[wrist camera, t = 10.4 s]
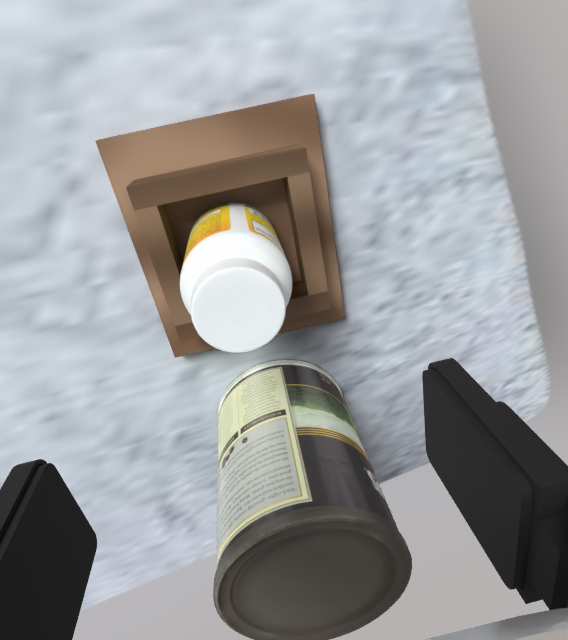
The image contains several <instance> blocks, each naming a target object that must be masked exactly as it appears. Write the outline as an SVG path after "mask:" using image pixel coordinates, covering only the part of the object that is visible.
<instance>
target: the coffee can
mask: <svg viewBox="0 0 568 640" xmlns="http://www.w3.org/2000/svg"><path fill="white" fill-rule="evenodd" d="M217 420H218V503H217V570H216V574H215V579H214V591H213V597H214V604H215V607H216V610H217V612H218V614H219V615H220V617H221V619H222V620H223V621H224V622H225V623H226V624H227V625H228V626H229V627H230V628H232V629H233V630H235V631H236V632H238V633H240V634H242V635H244V636H246V637H249V638H251V639H254V640H329V639H332V638H336V637H339V636H342V635H345V634H348V633H350V632H353V631H355V630H357V629H359V628H361V627H363V626H364V625H366V624H368V623H370V622H371V621H373V620H375V619H376V618H378V617H379V616H380V615H382V614H383V613H384V612H386V611H387V610H388V609H389V608H390V607H391V606H392V605H393V604H394V603H395V602H396V601H397V600H398V599H399V598H400V596H401V595H402V593H403V592H404V591H405V588H406V586H407V584H408V582H409V579H410V575H411V569H412V558H411V554H410V552H409V549H408V547H407V544H406V542H405V540H404V538H403V537H402V535H401V534H400V532H399V531H398V529H397V526H396V523H395V521H394V519H393V516H392V514H391V512H390V509H389V507H388V505H387V503H386V500H385V497H384V495H383V493H382V490H381V488H380V486H379V483H378V481H377V478H376V476H375V473H374V471H373V469H372V467H371V464H370V462H369V460H368V457H367V455H366V452H365V450H364V448H363V445H362V443H361V441H360V438H359V436H358V433H357V431H356V429H355V426H354V424H353V421H352V419H351V416H350V414H349V411H348V409H347V407H346V404H345V402H344V399H343V395H342V392H341V390H340V388H339V386H338V384H337V383H336V381H335V380H334V379H333V378H332V377H331V375H329V374H328V373H327V372H326V371H324V370H323V369H321V368H319V367H317V366H315V365H313V364H310V363H307V362H303V361H298V360H274V361H270V362H266V363H263V364H260V365H257V366H255V367H252V368H251V369H249V370H247V371H245V372H244V373H242V374H241V375H240V376H238V377H237V378H236V379H235V380H234V381H232V383H231V384H230V385H229V386H228V388H227V389H226V391H225V392H224V394H223V396H222V398H221V400H220V403H219V407H218V413H217Z"/></svg>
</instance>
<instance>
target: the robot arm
mask: <svg viewBox="0 0 568 640" xmlns="http://www.w3.org/2000/svg"><path fill="white" fill-rule="evenodd" d="M423 396H424V417H425V438H426V451H427V455H428V458H429V460H430V462H431V464H432V466H433V467H434V469H435V471H436V472H437V474H438V476H439V477H440V479H441V481H442V482H443V484H444V486H445V487H446V489H447V490H448V492H449V494H450V495H451V497H452V499H453V500H454V502H455V503H456V505H457V507H458V508H459V510H460V512H461V513H462V515H463V517H464V518H465V520H466V522H467V523H468V525H469V526H470V528H471V530H472V531H473V533H474V535H475V536H476V538H477V539H478V541H479V543H480V544H481V546H482V547H483V549H484V551H485V553H486V554H487V556H488V557H489V559H490V561H491V562H492V564H493V566H494V567H495V569H496V571H497V572H498V574H499V575H500V577H501V579H502V580H503V582H504V583H505V585H506V586H507V587H508V588H509V589H515V588H516V589H517V591H518V592H519V594H520V595H521V597H522V598H523V600H524V602H525V603H526V604H528V603H531V602H535V601H539V600H542V599H543V601H544V602H545V603H546V605H547V607H548V608H549V611H544V612H539V613H533V614H528V615H523V616H517V617H514V618H510V619H506V620H502V621H498V622H493V623H489V624H486V625H481V626H477V627H474V628H469V629H465V630H461V631H457V632H453V633H449V634H445V635H441V636H437V637H434V638H430V639H426V640H568V466H567V465H566V464H565V463H564V462H563V461H562V460H561V459H560V458H559V457H558V456H557V455H556V454H555V453H554V452H553V451H552V450H551V449H550V448H549V447H548V446H547V445H546V444H545V443H544V442H543V441H542V439H540V438H539V436H537V434H536V433H534V431H532V430H531V428H530V427H529V426H528V425H526V423H525V422H524V421H523V420H522V419H521V418H520V417H519V416H518V415H517V414H516V413H515V412H514V411H513V410H512V409H511V408H510V407H509V406H507V405H506V404H505V403H503V402H500V401H498V402H495V401H494V400H493V399H492V398H491V397H490V396H489V395H488V393H487V392H486V391H485V390H484V389H483V388H482V387H481V386H480V385H479V384H478V383H477V382H476V381H475V380H474V379H473V378H472V377H471V376H470V375H469V374H468V373H467V372H466V371H465V370H464V369H463V367H462V366H461V365H460V364H459V363H458V362H457V361H456V360H454V359H453V358H450V359H446V360H441V361H437V362H433V363H430V364H429V366H428V370H425V371H423ZM96 548H97V538H96V534H95V532H94V531H93V529H92V527H91V526H90V524H89V522H88V521H87V519H86V517H85V516H84V514H83V512H82V511H81V509H80V507H79V506H78V504H77V502H76V501H75V499H74V497H73V496H72V494H71V492H70V491H69V489H68V487H67V486H66V484H65V482H64V481H63V479H62V477H61V476H60V474H59V472H58V471H57V469H56V467H55V466H54V465H53V464H51V463H48V464H47V462H46V461H44V460H42V459H39V460H35V461H31V462H27V463H23V464H19V465H16V466H14V467H13V469H12V470H11V472H10V473H9V475H8V477H7V479H6V481H5V482H4V484H3V486H2V488H1V489H0V640H72V638H73V634H74V630H75V627H76V623H77V620H78V616H79V612H80V608H81V605H82V601H83V597H84V594H85V590H86V586H87V582H88V579H89V575H90V571H91V568H92V564H93V560H94V556H95V553H96Z"/></svg>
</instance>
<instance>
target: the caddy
mask: <svg viewBox="0 0 568 640" xmlns="http://www.w3.org/2000/svg"><path fill="white" fill-rule="evenodd" d="M96 144H97V146H98V149H99V152H100V155H101V157H102V160H103V163H104V165H105V168H106V171H107V174H108V176H109V179H110V182H111V185H112V187H113V190H114V193H115V195H116V198H117V201H118V204H119V206H120V209H121V212H122V214H123V217H124V220H125V223H126V225H127V228H128V231H129V233H130V236H131V239H132V242H133V244H134V247H135V250H136V253H137V255H138V258H139V261H140V263H141V266H142V269H143V272H144V274H145V277H146V280H147V282H148V285H149V288H150V291H151V293H152V296H153V299H154V301H155V304H156V307H157V310H158V312H159V315H160V318H161V321H162V323H163V326H164V329H165V331H166V334H167V337H168V340H169V342H170V345H171V348H172V350H173V353H174V356H175V357H180V356H184V355H188V354H192V353H197V352H201V351H205V350H210V349H214V348H215V347H213V346H211V345H210V344H208V343H207V342H205V341H204V340H203V339H202V338H201V337H200V335H199V334H198V332H197V331H196V329H195V327H194V324H193V322H192V318H191V315H190V313H189V312H188V310H187V309H186V307H185V305H184V302H183V300H182V296H181V291H180V275H181V270H182V266H183V262H184V258H185V254H186V249H187V244H188V240H189V236H190V232H191V230H192V228H193V226H194V224H195V222H196V221H197V220H198V218H199V217H200V216H201V215H202V214H203V213H205V212H206V211H207V210H209V209H210V208H212V207H214V206H216V205H218V204H222V203H227V202H239V203H244V204H247V205H250V206H252V207H254V208H256V209H258V210H259V211H261V212H262V213H263V214H264V215H265V216H266V217H267V218H268V219H269V221H270V222H271V224H272V226H273V227H274V229H275V231H276V234H277V236H278V239H279V242H280V244H281V247H282V249H283V251H284V254H285V256H286V259H287V261H288V264H289V266H290V270H291V275H292V292H291V297H290V300H289V303H288V305H287V307H286V312H285V318H284V322H283V324H282V327H281V328H280V330H279V332H278V333H277V334H279V333H283V332H287V331H292V330H296V329H300V328H304V327H309V326H313V325H317V324H322V323H326V322H330V321H335V320H339V319H343V318H345V315H344V308H343V301H342V293H341V286H340V279H339V271H338V264H337V257H336V249H335V242H334V235H333V227H332V220H331V213H330V205H329V198H328V191H327V183H326V176H325V169H324V161H323V154H322V147H321V139H320V132H319V125H318V118H317V110H316V103H315V96H314V94H310V95H305V96H300V97H296V98H291V99H286V100H282V101H277V102H272V103H268V104H263V105H258V106H254V107H249V108H244V109H240V110H235V111H230V112H226V113H221V114H216V115H212V116H207V117H202V118H198V119H193V120H188V121H184V122H179V123H174V124H170V125H165V126H160V127H156V128H151V129H146V130H142V131H137V132H132V133H128V134H123V135H118V136H114V137H109V138H104V139H100V140H97V141H96Z"/></svg>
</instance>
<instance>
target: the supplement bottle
mask: <svg viewBox="0 0 568 640" xmlns="http://www.w3.org/2000/svg"><path fill="white" fill-rule="evenodd" d="M180 291H181V296H182V300H183V302H184V305H185V307H186V309H187V310H188V312H189V313H190V315H191V318H192V322H193V324H194V327H195V329H196V331H197V332H198V334H199V335H200V337H201V338H202V339H203V340H204V341H205V342H207V343H208V344H210V345H211V346H213V347H215V348H217V349H219V350H222V351H226V352H232V353H242V352H249V351H253V350H256V349H258V348H260V347H262V346H264V345H265V344H267V343H268V342H270V341H271V340H272V339H273V338H274V337H275V336H276V335H277V333H278V332H279V330H280V328H281V327H282V324H283V322H284V318H285V312H286V307H287V305H288V303H289V300H290V297H291V292H292V275H291V270H290V266H289V264H288V261H287V259H286V256H285V254H284V251H283V249H282V247H281V244H280V242H279V239H278V236H277V234H276V231H275V229H274V227H273V226H272V224H271V222H270V221H269V219H268V218H267V217H266V216H265V215H264V214H263V213H262V212H261V211H259V210H258V209H256V208H254V207H252V206H250V205H247V204H244V203H239V202H227V203H222V204H218V205H216V206H214V207H212V208H210V209H209V210H207V211H206V212H205V213H203V214H202V215H201V216H200V217H199V218H198V220H197V221H196V222H195V224H194V226H193V228H192V230H191V232H190V236H189V240H188V244H187V249H186V254H185V258H184V262H183V266H182V270H181V275H180Z"/></svg>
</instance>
